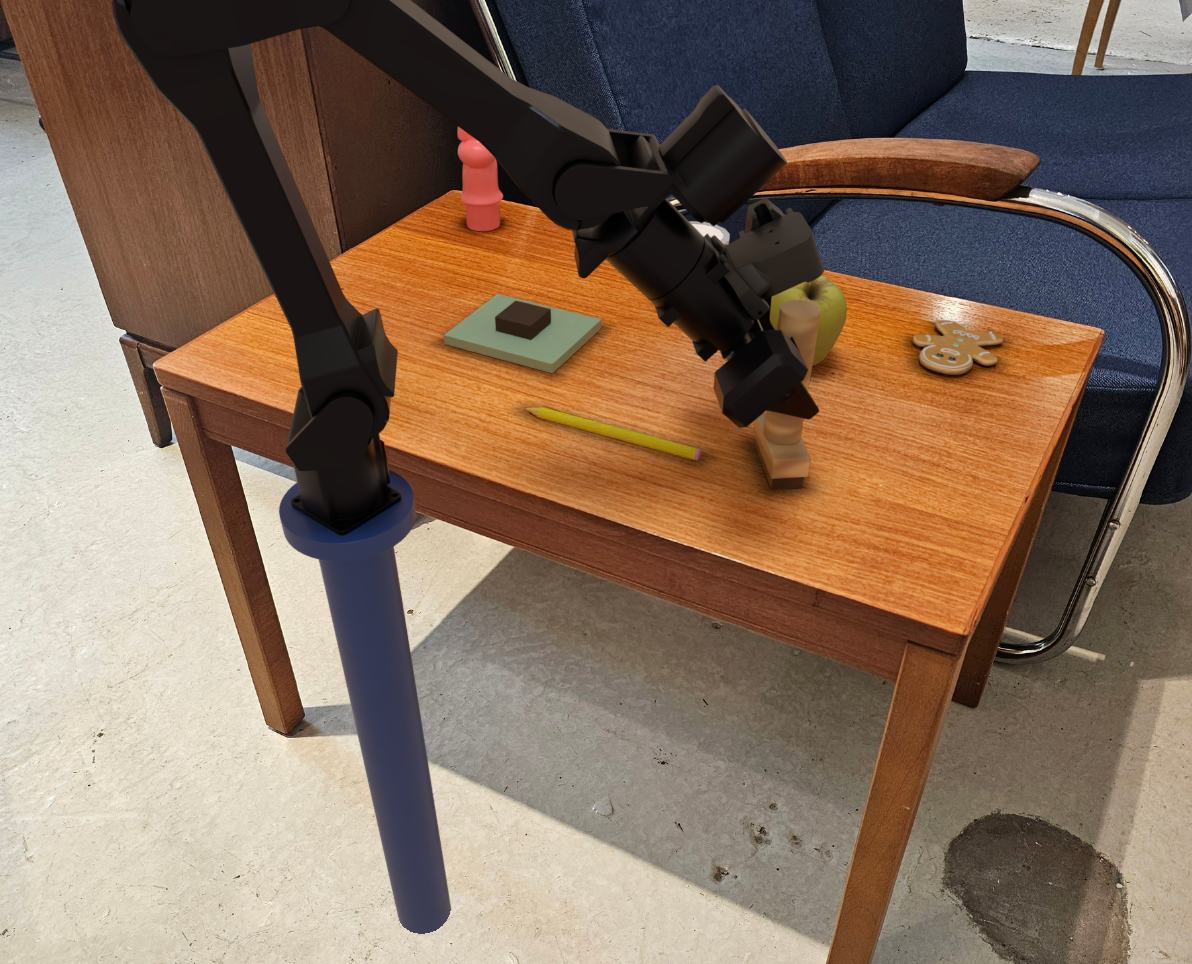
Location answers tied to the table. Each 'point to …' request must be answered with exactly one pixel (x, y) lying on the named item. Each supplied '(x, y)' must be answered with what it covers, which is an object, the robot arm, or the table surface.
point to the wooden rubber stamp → (783, 432)
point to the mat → (537, 353)
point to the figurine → (479, 184)
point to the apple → (831, 311)
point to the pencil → (617, 433)
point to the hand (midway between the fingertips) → (805, 395)
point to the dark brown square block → (523, 320)
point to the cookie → (956, 348)
